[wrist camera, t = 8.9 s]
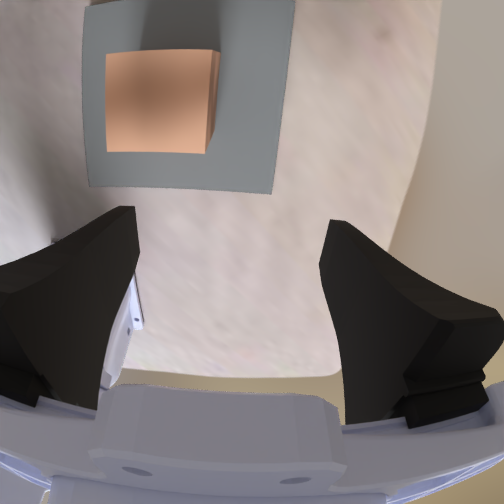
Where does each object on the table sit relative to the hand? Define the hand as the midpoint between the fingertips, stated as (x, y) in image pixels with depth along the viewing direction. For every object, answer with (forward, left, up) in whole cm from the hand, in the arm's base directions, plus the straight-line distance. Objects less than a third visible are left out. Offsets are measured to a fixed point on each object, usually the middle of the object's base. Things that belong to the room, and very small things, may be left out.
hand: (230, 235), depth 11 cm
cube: (+4, +4, -10) cm, 11 cm away
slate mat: (+4, +4, -10) cm, 12 cm away
